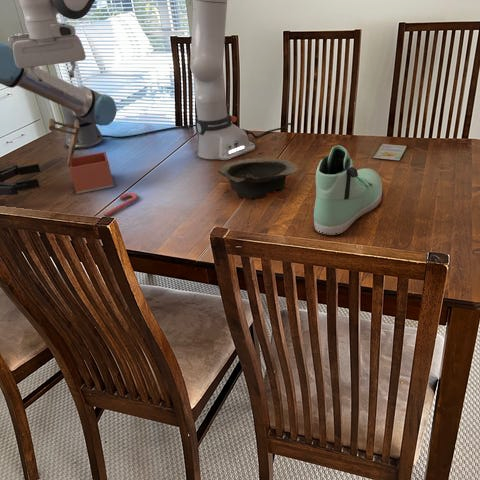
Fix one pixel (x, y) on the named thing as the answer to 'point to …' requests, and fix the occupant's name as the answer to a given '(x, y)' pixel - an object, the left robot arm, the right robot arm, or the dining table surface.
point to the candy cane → (122, 203)
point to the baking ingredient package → (390, 152)
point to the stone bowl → (257, 176)
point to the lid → (74, 133)
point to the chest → (91, 172)
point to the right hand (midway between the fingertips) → (56, 79)
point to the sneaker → (343, 192)
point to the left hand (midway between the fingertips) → (38, 174)
